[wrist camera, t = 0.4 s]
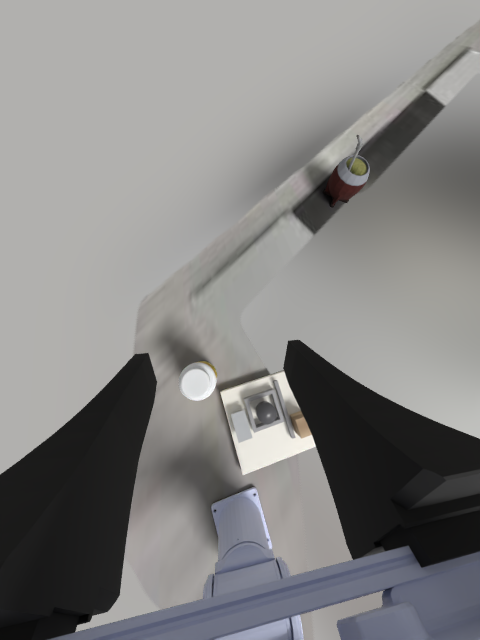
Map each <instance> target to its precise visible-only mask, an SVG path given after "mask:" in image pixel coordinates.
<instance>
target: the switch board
mask: <svg viewBox="0 0 480 640" xmlns="http://www.w3.org/2000/svg"><path fill="white" fill-rule="evenodd" d="M220 393H221V397H222V400H223V404H224V408H225V411H226V415H227V418H228V422H229V426H230V429H231V433H232V437H233V440H234V444H235V448H236V451H237V455H238V459H239V462H240V466H241V470H242V473H243V475H245V474H247V473H250V472H252V471H255V470H257V469H260V468H262V467H265V466H268V465H270V464H273V463H275V462H278V461H280V460H283V459H285V458H288V457H290V456H293V455H295V454H298V453H300V452H303V451H306V450H308V449H311V448H313V447H316V445H315V442H314V439H313V437H312V435H310V436H307V437H305V438H302V439H301V438H300V437H299V436H298V435H297V434H296V433H295V431H294V427H293V424H292V421H291V418H290V415H291V414H293V413H296V412H299V411H301V410H300V408H299V406H298V404H297V402H296V399H295V397H294V395H293V393H292V391H291V389H290V387H289V384H288V381H287V378H286V375H285V372H284V370H283V371H280V372H277V373H274V374H271V375H267V376H264V377H261V378H258V379H255V380H252V381H249V382H246V383H243V384H240V385H237V386H234V387H231V388H228V389H225V390H222V391H220ZM262 401H267V402H269V403H271V404H272V405H273V406H274V407H275V409H276V411H277V417H276V419H275V421H274V422H273V423H271V424H268V425H266V424H263V423H261V422H260V420H259V419H258V417H257V415H256V412H255V410H256V406H257V405H258V404H259V403H260V402H262ZM241 410H245V414H246V417H247V420H248V424H249V427H250V431H251V434H252V437H253V438H251V439H248V440H246V441H243V442H240V443H239V442H238V439H237V435H236V431H235V428H234V424H233V420H232V417H231V414H232V413H235V412H238V411H241Z"/></svg>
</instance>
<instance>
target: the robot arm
mask: <svg viewBox="0 0 480 640" xmlns="http://www.w3.org/2000/svg"><path fill="white" fill-rule="evenodd" d="M283 369H284V372H285V375H286V378H287V381H288V384H289V387H290V389H291V391H292V393H293V395H294V397H295V399H296V402H297V404H298V406H299V408H300V410H301V412H302V414H303V416H304V418H305V420H306V422H307V425H308V427H309V429H310V432H311V434H312V437H313V439H314V442H315V445H316V448H317V450H318V453H319V456H320V459H321V462H322V465H323V468H324V470H325V473H326V476H327V479H328V483H329V486H330V489H331V492H332V495H333V498H334V502H335V505H336V508H337V511H338V515H339V519H340V522H341V526H342V529H343V533H344V536H345V539H346V544H347V546H348V549H349V551H350V554H351V556H352V558H353V560H351V561H348V562H343V563H339V564H336V565H332V566H328V567H324V568H320V569H316V570H313V571H309V572H305V573H301V574H297V575H293V576H291V575H290V572H289V569H288V566H287V564H286V563H285V562H284V561H283V560H282V558H281V557H277V558H276V561H275V558H274V554H273V550H272V543H271V540H270V536H269V533H268V529H267V526H266V522H265V518H264V515H263V511H262V508H261V504H260V501H259V497H258V493H257V490H256V488H255V487H252V488H250V489H247V490H245V491H242V492H240V493H237V494H235V495H232V496H230V497H227V498H225V499H222V500H220V501H218V502H215V503H213V504H212V506H211V509H212V514H213V518H214V522H215V526H216V530H217V534H218V562H217V563H216V564H215V576H214V574H210V575H209V576H208V579H207V581H206V583H205V585H204V590H203V599H201V600H197V601H193V602H190V603H186V604H182V605H178V606H174V607H170V608H167V609H163V610H159V611H155V612H151V613H147V614H144V615H140V616H136V617H132V618H128V619H124V620H121V621H117V622H113V623H110V624H105V625H101V626H98V627H94V628H90V629H86V630H82V631H78V632H75V631H76V627H77V625H79V624H83V623H87V622H90V620H91V618H92V616H93V615H97V614H101V613H105V612H108V611H109V610H110V608H111V607H112V606H113V604H114V603H115V602H116V600H117V598H118V597H119V595H120V587H121V578H122V569H123V561H124V553H125V544H126V537H127V530H128V523H129V516H130V509H131V503H132V496H133V490H134V484H135V478H136V472H137V467H138V461H139V457H140V452H141V448H142V444H143V441H144V437H145V433H146V430H147V426H148V423H149V419H150V415H151V411H152V408H153V404H154V399H155V392H156V385H157V381H156V377H155V374H154V371H153V367H152V364H151V361H150V357H149V354H148V353H144V354H135V355H134V356H133V357H132V358H131V359H130V360H129V361H128V363H127V364H126V365H125V366H124V367H123V368H122V369H121V370H120V371H119V372H118V373H117V375H116V376H115V377H114V378H113V379H112V380H111V381H110V382H109V383H108V384H107V385H106V386H105V387H104V388H103V389H102V391H100V392H99V393H98V394H97V395H96V396H95V398H93V399H92V400H91V401H90V402H89V403H88V404H87V405H86V406H85V407H84V408H83V409H82V410H81V411H80V412H79V413H77V414H76V415H75V416H74V417H73V418H72V419H71V420H70V421H68V422H67V423H66V424H65V425H64V426H63V427H62V428H60V429H59V430H58V431H57V432H55V433H54V434H53V435H52V436H51V437H49V438H48V439H47V440H46V441H44V442H43V443H42V444H41V445H39V446H38V447H37V448H35V449H34V450H33V451H31V452H30V453H29V454H27V455H26V456H25V457H24V458H22V459H21V460H20V461H18V462H17V463H16V464H14V465H13V466H12V467H10V468H9V469H7V470H6V471H5V472H3V473H2V474H1V475H0V640H304V638H303V630H302V624H301V618H300V614H304V613H307V612H311V611H314V610H318V609H321V608H325V607H328V606H331V605H334V604H338V603H342V602H345V601H349V600H352V599H355V598H359V597H362V596H366V595H369V594H373V593H376V592H380V591H383V590H385V591H383V594H382V600H383V605H382V607H381V608H377V609H373V610H370V611H366V612H362V613H359V614H356V615H353V616H350V617H347V618H344V619H341V620H338V621H337V628H338V631H339V634H340V637H341V640H480V439H479V438H476V437H474V436H471V435H468V434H466V433H463V432H461V431H458V430H455V429H453V428H450V427H448V426H445V425H443V424H440V423H438V422H436V421H433V420H431V419H429V418H426V417H424V416H422V415H420V414H417V413H415V412H413V411H411V410H409V409H406V408H405V407H403V406H401V405H399V404H396V403H395V402H393V401H391V400H389V399H387V398H385V397H383V396H381V395H379V394H377V393H376V392H374V391H372V390H370V389H369V388H367V387H365V386H364V385H362V384H360V383H358V382H357V381H355V380H354V379H352V378H351V377H349V376H348V375H346V374H345V373H343V372H342V371H340V370H339V369H337V368H336V367H334V366H333V365H332V364H330V363H329V362H327V361H326V360H325V359H324V358H322V357H321V356H320V355H318V354H317V353H315V352H314V351H313V350H311V349H310V348H309V347H308V346H307V345H305V344H304V343H303V342H301V341H300V340H292V341H288V345H287V351H286V356H285V362H284V368H283ZM254 493H256V494H255V495H253V494H254ZM214 509H216V511H214ZM267 538H268V540H267Z"/></svg>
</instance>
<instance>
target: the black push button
mask: <svg viewBox="0 0 480 640" xmlns="http://www.w3.org/2000/svg"><path fill="white" fill-rule="evenodd" d="M255 412H256V415H257V417H258V419H259V420H260V422H261V423H263V424H266V425H268V424H271V423H273V422H274V421H275V419H276V417H277V411H276V409H275V407H274V406H273V405H272V404H271V403H269V402H267V401H262V402H260V403H259V404H258V405H257V406H256V410H255Z"/></svg>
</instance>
